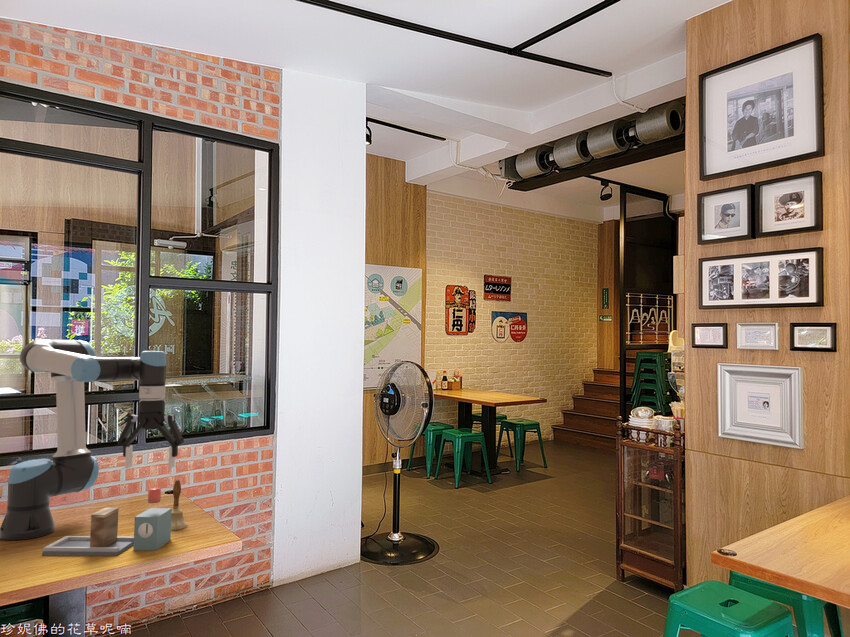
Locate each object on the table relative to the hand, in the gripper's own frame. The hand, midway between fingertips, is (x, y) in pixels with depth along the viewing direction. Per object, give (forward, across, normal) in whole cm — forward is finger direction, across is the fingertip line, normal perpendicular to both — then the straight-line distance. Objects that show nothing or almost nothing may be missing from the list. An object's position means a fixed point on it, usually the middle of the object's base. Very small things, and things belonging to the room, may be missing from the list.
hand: (150, 467), depth 182 cm
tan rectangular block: (+23, -12, -3) cm, 26 cm away
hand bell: (+24, 0, +20) cm, 32 cm away
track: (+24, -16, -3) cm, 29 cm away
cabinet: (+24, +1, +1) cm, 24 cm away
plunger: (+11, +1, +1) cm, 11 cm away
